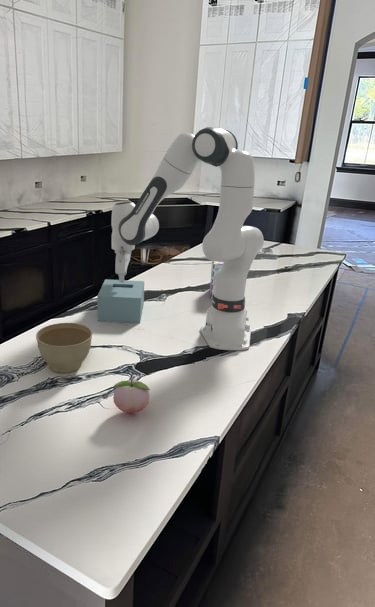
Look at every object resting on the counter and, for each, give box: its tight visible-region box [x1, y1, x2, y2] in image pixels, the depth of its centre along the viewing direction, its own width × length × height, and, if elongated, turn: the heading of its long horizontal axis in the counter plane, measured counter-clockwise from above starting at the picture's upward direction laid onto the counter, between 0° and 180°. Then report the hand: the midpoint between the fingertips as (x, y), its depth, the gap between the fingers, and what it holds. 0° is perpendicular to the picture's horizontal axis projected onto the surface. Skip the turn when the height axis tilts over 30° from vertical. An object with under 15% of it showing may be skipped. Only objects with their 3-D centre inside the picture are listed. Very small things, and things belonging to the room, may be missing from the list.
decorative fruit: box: [112, 378, 151, 414], centre depth 116 cm, size 9×8×10 cm
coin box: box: [96, 279, 145, 324], centre depth 179 cm, size 20×16×10 cm
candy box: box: [209, 261, 224, 300], centre depth 204 cm, size 14×6×16 cm, turn 179°
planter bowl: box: [35, 322, 93, 374], centre depth 136 cm, size 16×16×11 cm
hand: (123, 278), depth 179 cm, fingers open, 8 cm apart
